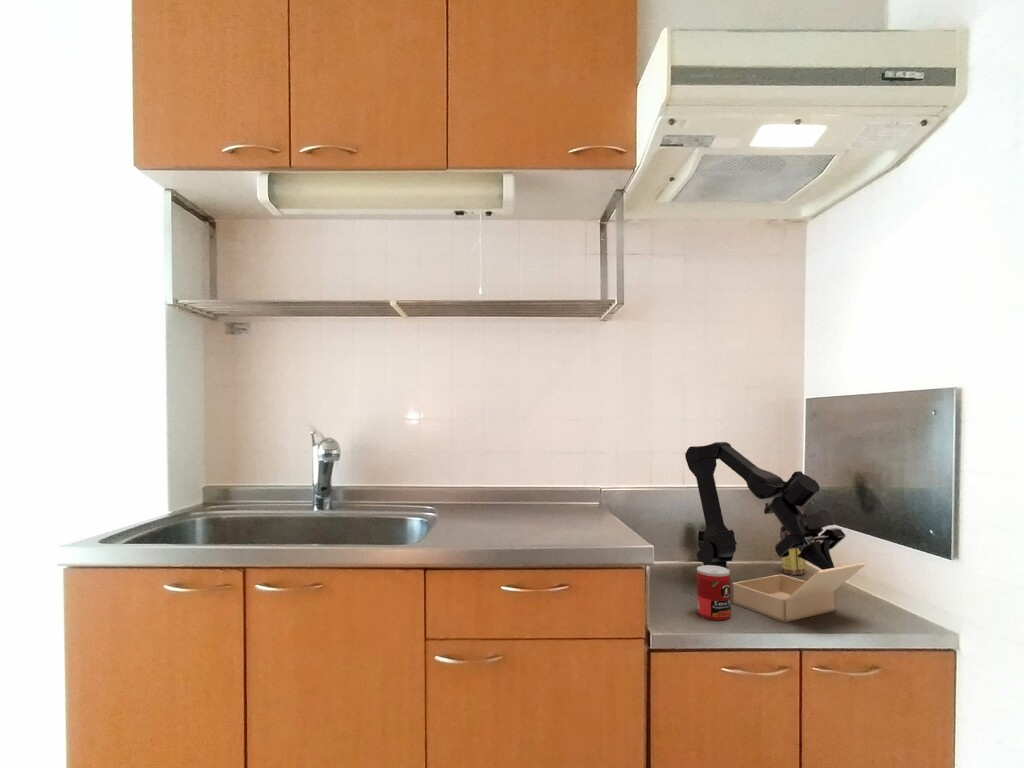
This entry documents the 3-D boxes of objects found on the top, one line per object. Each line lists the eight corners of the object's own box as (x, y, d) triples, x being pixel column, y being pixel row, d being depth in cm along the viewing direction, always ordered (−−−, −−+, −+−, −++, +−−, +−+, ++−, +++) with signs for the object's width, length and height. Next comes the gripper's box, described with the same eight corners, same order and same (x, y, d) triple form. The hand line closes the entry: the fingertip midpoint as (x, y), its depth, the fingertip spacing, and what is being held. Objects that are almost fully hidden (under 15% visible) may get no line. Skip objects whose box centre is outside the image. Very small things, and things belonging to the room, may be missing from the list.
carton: (732, 602, 154) (731, 583, 154) (781, 592, 162) (781, 574, 162) (784, 622, 140) (783, 600, 140) (836, 610, 147) (835, 589, 148)
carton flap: (818, 570, 133) (819, 572, 133) (864, 562, 140) (866, 564, 140) (786, 598, 140) (788, 600, 140) (832, 589, 147) (834, 591, 147)
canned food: (715, 623, 140) (714, 575, 140) (690, 613, 147) (689, 567, 147) (738, 617, 143) (737, 571, 144) (713, 607, 150) (712, 563, 151)
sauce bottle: (800, 570, 184) (798, 505, 185) (808, 576, 178) (806, 508, 179) (778, 570, 185) (776, 505, 185) (785, 575, 178) (783, 508, 179)
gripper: (783, 500, 140) (828, 558, 129) (837, 495, 148) (883, 549, 137) (757, 528, 147) (797, 586, 136) (809, 522, 155) (851, 575, 144)
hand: (833, 573), depth 138 cm, fingers closed, pressing on carton flap
